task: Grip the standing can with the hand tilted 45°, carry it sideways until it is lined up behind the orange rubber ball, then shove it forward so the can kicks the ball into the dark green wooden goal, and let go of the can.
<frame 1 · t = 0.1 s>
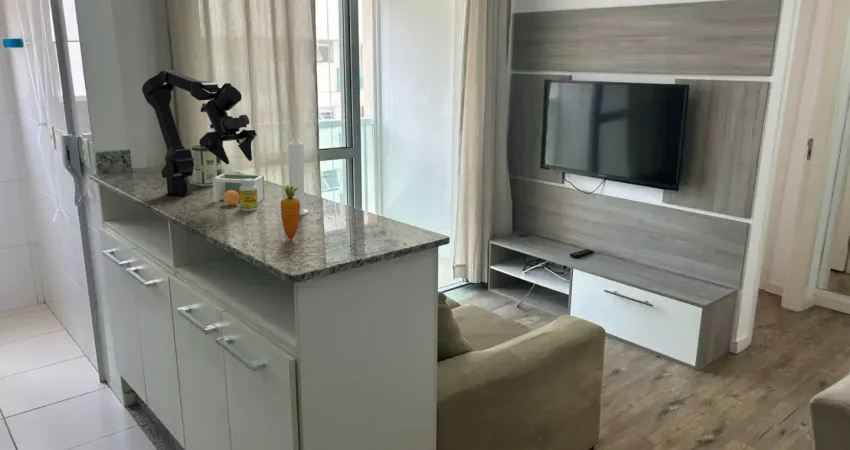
hand: (239, 162, 196), 15 cm above the countertop, tool tilted 35°, fingers open, 9 cm apart
goal: (239, 200, 209), on the countertop
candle: (297, 213, 196), on the countertop
coffee can: (208, 184, 235), on the countertop
carrot: (290, 240, 166), on the countertop
ball: (231, 197, 202), point 2 cm above the countertop
supplement bottle: (249, 209, 198), on the countertop
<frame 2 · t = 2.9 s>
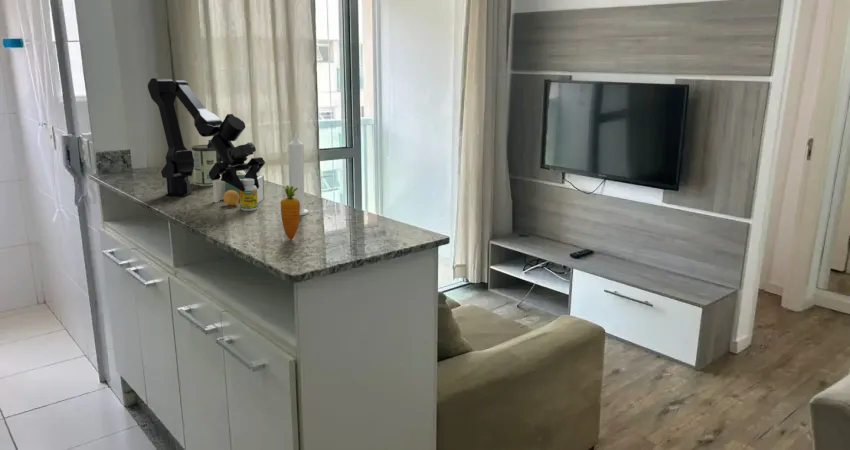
hand: (251, 189, 196), 7 cm above the countertop, tool tilted 45°, fingers closed on supplement bottle, 5 cm apart
supplement bottle: (249, 209, 198), on the countertop, touching gripper
everything else where it was.
when the fingers open (8 cm above the countertop, at t = 7.7 s): supplement bottle stays where it is, point 1 cm above the countertop.
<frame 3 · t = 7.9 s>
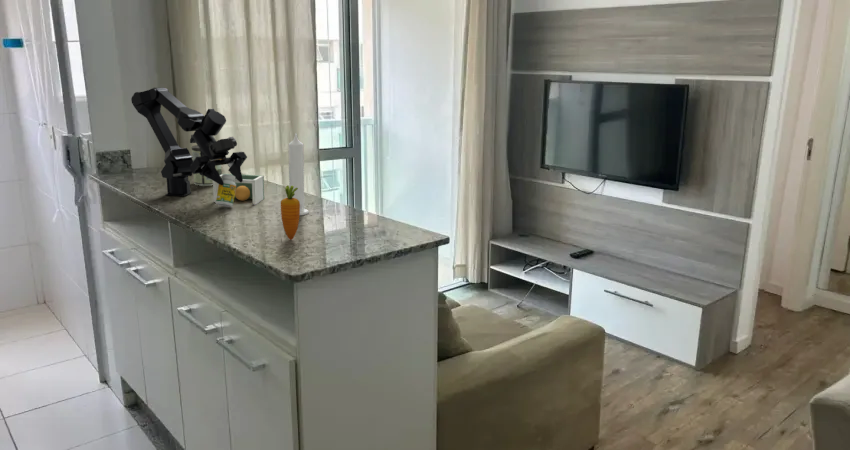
hand: (232, 182, 199), 8 cm above the countertop, tool tilted 45°, fingers open, 7 cm apart
ball: (242, 193, 209), point 2 cm above the countertop, tilted 175°
supplement bottle: (224, 205, 198), point 1 cm above the countertop, touching gripper
everything else where it was.
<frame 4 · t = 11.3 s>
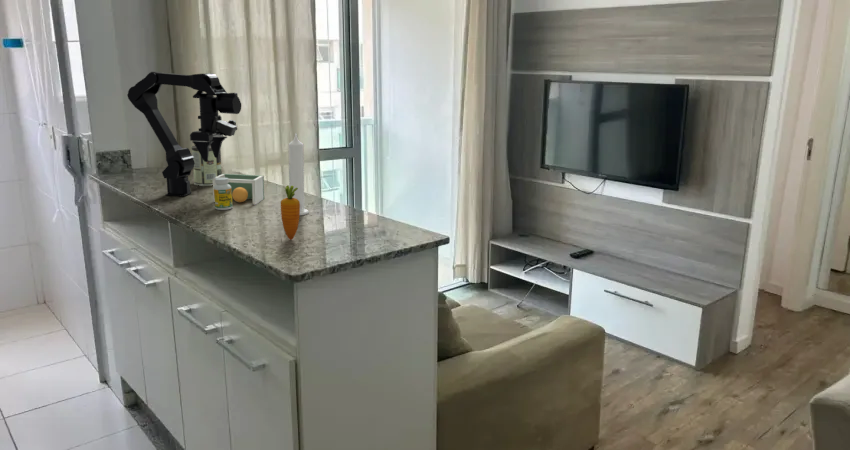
hand: (211, 159, 209), 13 cm above the countertop, tool pointing down, fingers open, 9 cm apart
ball: (240, 194, 207), point 2 cm above the countertop, tilted 115°
supplement bottle: (224, 209, 198), on the countertop
everything else where it was.
at the end: ball inside the target area on the goal (2.3 cm from its centre), point 2.5 cm above the goal's base; supplement bottle tilted 2°; the gripper is holding nothing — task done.
